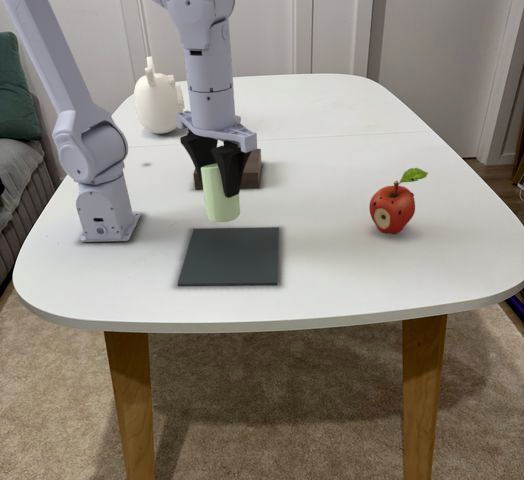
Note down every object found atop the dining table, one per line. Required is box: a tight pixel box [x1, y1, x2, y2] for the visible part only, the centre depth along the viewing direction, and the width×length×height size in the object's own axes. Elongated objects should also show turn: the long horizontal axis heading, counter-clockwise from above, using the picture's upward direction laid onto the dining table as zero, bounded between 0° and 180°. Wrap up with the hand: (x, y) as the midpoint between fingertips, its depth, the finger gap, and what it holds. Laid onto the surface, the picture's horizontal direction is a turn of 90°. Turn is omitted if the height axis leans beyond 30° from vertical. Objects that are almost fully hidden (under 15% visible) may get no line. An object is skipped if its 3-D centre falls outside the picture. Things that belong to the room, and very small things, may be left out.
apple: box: [368, 167, 429, 236], centre depth 78 cm, size 8×7×10 cm
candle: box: [201, 163, 241, 223], centre depth 73 cm, size 5×5×8 cm
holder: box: [192, 148, 262, 190], centre depth 99 cm, size 12×12×3 cm
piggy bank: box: [133, 55, 185, 135], centre depth 116 cm, size 12×12×15 cm
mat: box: [177, 226, 280, 287], centre depth 77 cm, size 16×14×1 cm
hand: (220, 189), depth 73 cm, fingers closed on candle, 5 cm apart
